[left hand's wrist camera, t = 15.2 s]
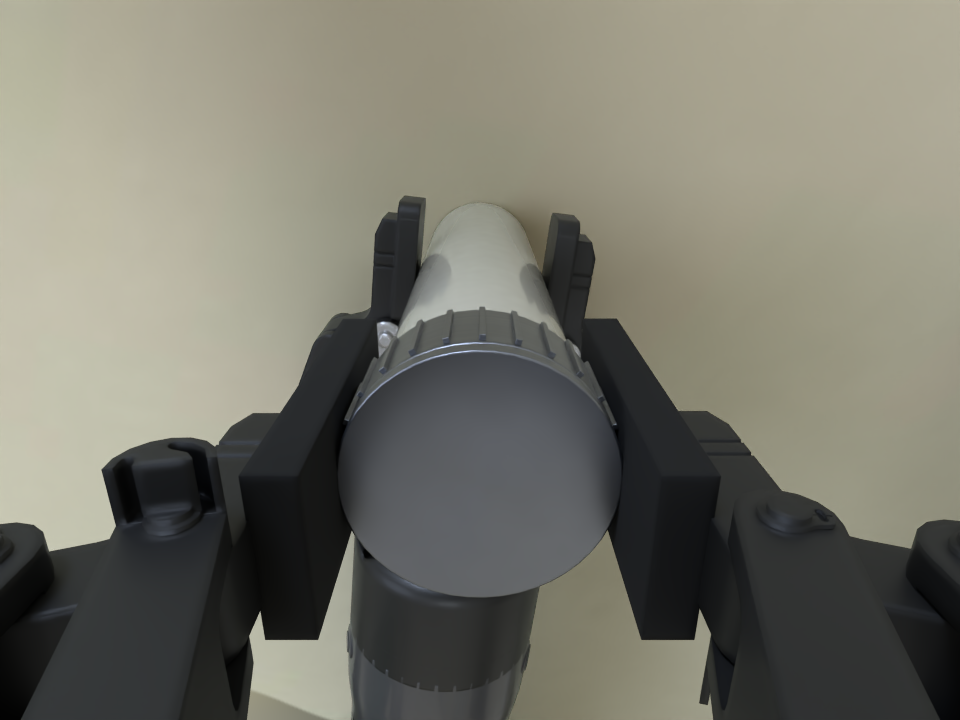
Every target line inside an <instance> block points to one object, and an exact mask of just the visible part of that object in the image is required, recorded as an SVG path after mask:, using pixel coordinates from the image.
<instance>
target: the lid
mask: <svg viewBox="0 0 960 720" xmlns="http://www.w3.org/2000/svg"><path fill="white" fill-rule="evenodd" d="M342 424H343V425H346V429H345V431H344V434H343V436H342V438H341V442H340V446H339V450H338V454H337V462H336V468H337V480H338V490H339V499H340V505H341V508H342V510H343V513H344V515H345V518H346V521H347V522H348V524H349V526H350V528H351V530H352V531H353V533H354V535H355V536H356V537H357V539H358V540H359V541H360V543H361V544H362V545H363V547H364V548H365V549H366V550H367V551H368V552H369V553H370V554H371V555H372V556H373V557H374V558H375V559H376V560H377V561H378V562H380V563H381V564H382V565H383V566H384V567H386V568H387V569H388V570H390V571H391V572H393V573H395V574H396V575H398V576H399V577H401V578H403V579H405V580H407V581H409V582H411V583H413V584H415V585H417V586H420V587H423V588H426V589H429V590H432V591H435V592H439V593H443V594H448V595H453V596H461V597H477V598H487V597H499V596H506V595H511V594H516V593H521V592H524V591H527V590H531V589H534V588H537V587H539V586H541V585H544V584H546V583H548V582H551V581H553V580H554V579H556V578H558V577H560V576H561V575H563V574H565V573H566V572H568V571H569V570H571V569H572V568H573V567H575V566H576V565H577V564H579V563H580V562H581V561H582V560H583V559H584V558H585V557H586V556H587V555H588V554H590V553H591V552H592V550H593V549H594V548H595V547H596V545H597V544H598V543H599V542H600V541H601V539H602V538H603V536H604V535H605V533H606V531H607V530H608V528H609V527H610V525H611V522H612V520H613V518H614V516H615V513H616V511H617V508H618V505H619V501H620V496H621V486H622V475H623V460H622V455H621V449H620V445H619V442H618V439H617V436H616V433H615V430H617V429H618V426H617V423H616V421H615V419H614V416H613V414H612V412H611V410H610V407H609V405H608V403H607V400H606V398H605V396H604V394H603V391H602V389H601V387H600V386H599V384H598V382H597V379H596V377H595V375H594V372H593V370H592V368H591V366H590V364H589V362H588V361H586V362H585V363H583V361H582V360H581V358H580V357H579V356H578V354H577V353H576V352H575V350H574V347H573V345H572V342H571V341H570V340H569V339H567V340H566V341H564V340H563V339H562V338H560V337H559V336H558V335H556V334H555V333H554V332H552V331H551V330H549V329H548V326H547V324H546V323H544V322H541V323H540V324H539V323H536V322H534V321H532V320H529V319H527V318H525V317H521V316H518V313H517V311H513V310H512V311H511V313H507V312H500V311H493V310H485V307H479V310H467V311H458V312H453V309H451V310H447V314H445V315H441V316H438V317H435V318H432V319H430V320H427V321H425V322H423V320H422V319H421V320H419V321H417V323H416V326H415V327H413V328H411V329H410V330H408V331H407V332H406V333H404V334H403V335H401V336H400V337H399V338H397V336H394V337H393V338H392V339H391V341H390V343H389V346H388V348H387V349H386V350H385V351H384V352H383V354H382V355H381V356H380V357H379V359H377V358H375V357H374V358H373V360H372V361H371V363H370V366H369V368H368V370H367V373H366V375H365V377H364V379H363V382H360V384H359V387H358V389H357V391H356V393H355V396H354V398H353V400H352V402H351V405H350V407H349V409H348V411H347V414H346V416H345V418H344V420H343V423H342Z"/></svg>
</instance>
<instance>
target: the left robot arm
mask: <svg viewBox="0 0 960 720" xmlns="http://www.w3.org/2000/svg"><path fill="white" fill-rule="evenodd" d="M374 357H375V358H377V359H379V348H378V332H377V319H342V321H341V322H340V324H339V326H338V327H337V329H336V330H335V332H334V333H333V335H332V336H331V338H330V339H329V341H328V342H327V344H326V345H325V347H324V348H323V350H322V351H321V353H320V354H319V356H318V357H317V359H316V360H315V362H314V363H313V365H312V366H311V368H310V369H309V371H308V372H307V374H306V375H305V377H304V378H303V380H302V381H301V383H300V384H299V386H298V387H297V389H296V390H295V392H294V393H293V395H292V396H291V398H290V399H289V401H288V402H287V404H286V405H285V407H284V408H283V410H282V411H281V413H253V414H251V415H249V416H248V417H246V418H244V419H243V420H241V421H240V422H238V423H236V424H235V425H233V426H231V428H230V429H229V430H228V431H227V433H226V434H225V435H224V436H223V438H222V439H221V440H220V441H219V445H216V446H215V447H214V446H213V445H212V444H210V443H209V442H207V441H205V440H200V439H195V438H169V439H164V440H158V441H153V442H149V443H146V444H143V445H140V446H137V447H134V448H131V449H129V450H127V451H125V452H123V453H122V454H120V455H118V456H116V457H115V458H113V459H112V460H111V461H110V462H109V463H108V464H107V465H106V466H105V467H104V468H103V469H102V473H103V477H104V481H105V485H106V489H107V493H108V497H109V501H110V504H111V508H112V512H113V516H114V520H115V524H116V527H115V529H114V531H113V533H112V535H111V537H110V539H108V540H105V541H101V542H97V543H91V544H86V545H81V546H76V547H71V548H65V549H60V550H55V551H50V552H49V550H48V546H47V543H46V540H45V537H44V534H43V532H42V531H41V530H40V529H38V528H37V527H36V526H34V525H30V524H23V523H7V524H0V720H247V713H248V705H249V697H250V688H251V680H252V672H253V656H252V650H251V644H250V638H249V635H250V633H251V630H252V628H253V626H254V624H255V621H256V619H257V617H258V614H259V612H260V611H261V617H262V623H263V629H264V635H265V640H318V638H319V635H320V632H321V629H322V625H323V622H324V619H325V616H326V612H327V609H328V606H329V603H330V599H331V596H332V593H333V590H334V586H335V583H336V580H337V577H338V573H339V570H340V567H341V563H342V560H343V557H344V554H345V550H346V547H347V544H348V541H349V537H350V534H351V531H352V530H351V528H350V526H349V524H348V522H347V521H346V518H345V515H344V513H343V510H342V508H341V505H340V499H339V490H338V480H337V468H336V462H337V454H338V450H339V446H340V442H341V438H342V436H343V434H344V431H345V429H346V425H343V424H342V423H343V420H344V418H345V416H346V414H347V411H348V409H349V407H350V405H351V402H352V400H353V398H354V396H355V393H356V391H357V389H358V387H359V384H360V382H363V379H364V377H365V375H366V373H367V370H368V368H369V366H370V363H371V361H372V360H373V358H374ZM581 360H582V361H583V363H585V362H586V361H588V362H589V364H590V366H591V368H592V370H593V372H594V375H595V377H596V379H597V382H598V384H599V386H600V387H601V389H602V391H603V394H604V396H605V398H606V400H607V403H608V405H609V407H610V410H611V412H612V414H613V416H614V419H615V421H616V423H617V426H618V429H617V430H615V433H616V436H617V439H618V442H619V445H620V449H621V455H622V460H623V475H622V486H621V496H620V501H619V505H618V508H617V511H616V513H615V516H614V518H613V520H612V522H611V525H610V527H609V528H608V532H609V535H610V539H611V542H612V545H613V548H614V552H615V555H616V558H617V561H618V565H619V568H620V571H621V574H622V578H623V581H624V584H625V588H626V591H627V594H628V597H629V601H630V604H631V607H632V610H633V614H634V617H635V620H636V623H637V627H638V630H639V633H640V636H641V640H694V639H695V633H696V627H697V620H698V614H699V608H700V610H701V612H702V614H703V617H704V619H705V621H706V623H707V626H708V628H709V630H710V632H711V638H710V644H709V650H708V655H707V661H706V667H705V672H704V678H703V684H702V689H701V696H700V702H699V703H700V704H705V705H708V701H709V696H710V695H711V704H712V712H713V720H960V521H953V520H938V521H931V522H926V523H925V524H924V525H922V526H921V527H920V528H918V529H917V532H916V535H915V538H914V542H913V545H912V548H911V549H909V548H904V547H899V546H894V545H888V544H883V543H878V542H873V541H867V540H863V539H859V538H855V537H851V536H849V534H848V532H847V530H846V528H845V526H844V525H843V523H842V522H841V521H840V520H839V518H838V517H837V516H836V515H835V514H834V513H833V512H832V511H830V510H829V509H827V508H826V507H824V506H823V505H821V504H820V503H818V502H816V501H813V500H811V499H808V498H806V497H803V496H801V495H798V494H794V493H789V492H784V491H781V489H780V488H779V487H778V486H777V484H776V483H775V482H774V481H773V479H772V478H771V477H770V476H769V474H768V473H767V472H766V471H765V469H764V468H763V467H762V466H761V464H760V463H759V462H758V460H757V459H756V458H755V457H754V456H751V452H750V450H749V449H748V448H747V447H746V445H745V444H744V443H741V439H740V438H739V437H738V435H737V434H736V433H735V432H734V430H733V429H732V428H731V427H730V425H729V424H727V423H726V422H724V421H722V420H721V419H719V418H717V417H716V416H714V415H712V414H711V413H709V412H707V411H678V410H677V409H676V407H675V406H674V404H673V403H672V401H671V400H670V398H669V397H668V395H667V394H666V392H665V391H664V389H663V388H662V386H661V385H660V383H659V382H658V380H657V379H656V377H655V376H654V374H653V373H652V371H651V370H650V368H649V367H648V365H647V364H646V362H645V361H644V359H643V358H642V356H641V355H640V353H639V352H638V350H637V349H636V347H635V346H634V344H633V343H632V341H631V340H630V338H629V337H628V335H627V334H626V332H625V331H624V329H623V328H622V326H621V325H620V323H619V322H618V320H617V319H583V326H582V342H581Z"/></svg>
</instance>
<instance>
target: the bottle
mask: <svg viewBox="0 0 960 720" xmlns="http://www.w3.org/2000/svg"><path fill="white" fill-rule="evenodd" d="M479 307H485V310H493V311H500V312H507V313H511V311H512V310H513V311H517V313H518V316H521V317H525V318H527V319H529V320H532V321H534V322H536V323H539V324H540V323H541V322H544V323H546V324H547V326H548V329H549V330H551V331H552V332H554V333H555V334H556V335H558V336H559V337H560V338H562V339H563V340H564V341H566V337H565V334H564V332H563V329H562V327H561V324H560V321H559V319H558V316H557V314H556V311H555V308H554V306H553V303H552V300H551V298H550V295H549V293H548V290H547V287H546V285H545V282H544V280H543V277H542V274H541V272H540V269H539V266H538V264H537V261H536V259H535V256H534V253H533V251H532V248H531V246H530V243H529V240H528V238H527V235H526V233H525V231H524V229H523V227H522V225H521V224H520V222H519V221H518V220H517V219H516V218H515V217H514V216H513V215H512V214H511V213H510V212H508V211H507V210H505V209H503V208H501V207H499V206H496V205H493V204H489V203H471V204H467V205H463V206H461V207H458V208H457V209H455V210H453V211H452V212H450V213H449V214H448V215H447V216H446V217H444V218H443V220H442V221H441V222H440V223H439V225H438V226H437V228H436V230H435V232H434V235H433V237H432V240H431V242H430V245H429V247H428V250H427V253H426V255H425V258H424V260H423V263H422V266H421V268H420V271H419V273H418V276H417V279H416V281H415V284H414V286H413V289H412V291H411V294H410V297H409V299H408V302H407V304H406V307H405V310H404V312H403V315H402V317H401V320H400V323H399V325H398V328H397V330H396V333H395V336H397V338H399V337H400V336H401V335H403V334H404V333H406V332H407V331H408V330H410V329H411V328H413V327H415V326H416V323H417V321H419V320H421V319H422V320H423V322H425V321H427V320H430V319H432V318H435V317H438V316H441V315H445V314H447V310H451V309H453V312H458V311H467V310H479Z"/></svg>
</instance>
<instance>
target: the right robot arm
mask: <svg viewBox="0 0 960 720" xmlns="http://www.w3.org/2000/svg"><path fill="white" fill-rule="evenodd" d="M425 207H426V198H420V197H412V196H404V197H403V198H402V199H401V200H400V202H399V207H398V213H392V212H388V213H387V214H386V215H385V216H384V218H383V219H382V221H381V223H380V225H379V227H378V229H377V231H376V233H375V246H374V266H373V283H372V302H371V308H369V309H368V310H366V311H363V312H359V313H355V314H348V313H340V314H337V315H335V316H334V317H333V318H332V319H331V320H330V321H329V323H328V324H327V325H326V327H325V328H324V330H323V331H322V332H321V334H320V335H319V337H318V338H317V339H316V341H315V342H314V344H313V346H312V349H311V352H310V355H309V358H308V360H307V363H306V366H305V369H304V371H303V374H302V377H301V380H300V383H301V381H302V380H303V378H304V377H305V375H306V374H307V372H308V371H309V369H310V368H311V366H312V365H313V363H314V362H315V360H316V359H317V357H318V356H319V354H320V353H321V351H322V350H323V348H324V347H325V345H326V344H327V342H328V341H329V339H330V338H331V336H332V335H333V333H334V332H335V330H336V329H337V327H338V326H339V324H340V322H341V321H342V319H377V332H378V348H379V357H380V356H381V355H382V354H383V352H384V351H385V350H386V349H387V348H388V346H389V343H390V341H391V339H392V338H393V337H394V336H395V333H396V330H397V328H398V325H399V323H400V320H401V317H402V315H403V312H404V310H405V307H406V304H407V302H408V299H409V297H410V294H411V291H412V289H413V286H414V284H415V281H416V279H417V276H418V273H419V271H420V268H421V257H422V244H423V232H424V220H425ZM594 263H595V255H594V250H593V245H592V242H591V241H590V240H589V239H588V238H587V236H586V235H583V234H580V222H579V220H578V219H577V218H576V217H575V216H574V215H567V214H559V213H553V214H552V217H551V221H550V227H549V233H548V239H547V246H546V252H545V258H544V265H543V271H542V277H543V280H544V282H545V285H546V287H547V290H548V293H549V295H550V298H551V300H552V303H553V306H554V308H555V311H556V314H557V316H558V319H559V321H560V324H561V327H562V329H563V332H564V334H565V337H566V340H567V339H569V340H570V341H571V342H572V345H573V347H574V350H575V352H576V353H577V354H578V356H579V357H580V358H581V342H582V326H583V319H584V317H585V311H586V306H587V301H588V295H589V288H590V285H591V279H592V274H593V269H594ZM300 383H299V384H300ZM298 386H299V385H298ZM538 591H539V587H537V588H534V589H531V590H527V591H524V592H521V593H516V594H511V595H506V596H499V597H487V598H477V597H461V596H453V595H448V594H443V593H439V592H435V591H432V590H429V589H426V588H423V587H420V586H417V585H415V584H413V583H411V582H409V581H407V580H405V579H403V578H401V577H399V576H398V575H396V574H395V573H393V572H391V571H390V570H388V569H387V568H386V567H384V566H383V565H382V564H381V563H380V562H378V561H377V560H376V559H375V558H374V557H373V556H372V555H371V554H370V553H369V552H368V551H367V550H366V549H365V548H364V547H363V545H362V544H361V543H360V541H359V540H358V539H357V537H356V536H355V541H354V561H353V580H352V601H351V618H350V624H349V628H348V631H347V652H348V653H349V681H350V688H351V695H352V712H351V720H508V719H509V715H510V713H511V710H512V708H513V705H514V703H515V700H516V697H517V694H518V691H519V688H520V684H521V680H522V675H523V672H524V670H525V669H526V666H527V661H528V657H529V652H530V645H531V644H530V640H529V639H530V634H531V628H532V623H533V618H534V612H535V607H536V602H537V597H538Z"/></svg>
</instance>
